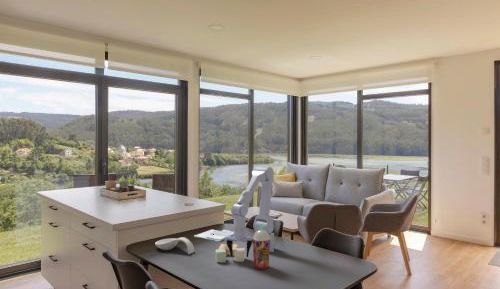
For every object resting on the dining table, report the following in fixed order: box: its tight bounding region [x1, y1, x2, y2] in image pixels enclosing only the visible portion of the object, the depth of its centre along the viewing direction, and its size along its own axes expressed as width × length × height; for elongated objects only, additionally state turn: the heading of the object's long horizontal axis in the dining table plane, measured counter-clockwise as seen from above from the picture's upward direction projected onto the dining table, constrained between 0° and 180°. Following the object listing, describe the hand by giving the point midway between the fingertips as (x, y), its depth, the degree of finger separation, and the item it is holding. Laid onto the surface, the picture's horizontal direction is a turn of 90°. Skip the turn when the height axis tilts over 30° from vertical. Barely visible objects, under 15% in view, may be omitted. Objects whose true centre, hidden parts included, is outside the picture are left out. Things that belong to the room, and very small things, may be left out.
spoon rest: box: [154, 237, 195, 255], centre depth 183 cm, size 24×12×7 cm, turn 60°
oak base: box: [218, 243, 239, 257], centre depth 178 cm, size 9×9×3 cm
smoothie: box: [251, 224, 271, 270], centre depth 157 cm, size 8×8×20 cm
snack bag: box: [193, 229, 234, 242], centre depth 210 cm, size 19×20×2 cm
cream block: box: [233, 247, 246, 262], centre depth 167 cm, size 4×4×5 cm
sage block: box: [215, 248, 227, 263], centre depth 166 cm, size 4×4×5 cm
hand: (239, 256), depth 167 cm, fingers open, 7 cm apart
